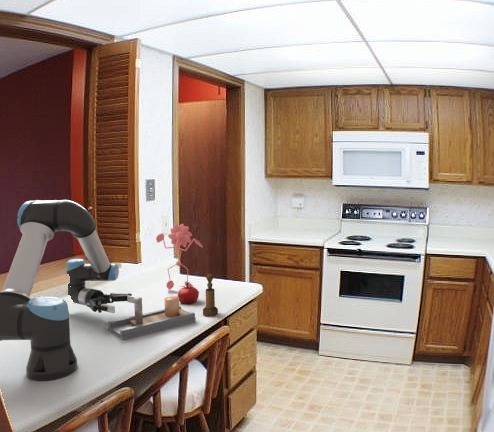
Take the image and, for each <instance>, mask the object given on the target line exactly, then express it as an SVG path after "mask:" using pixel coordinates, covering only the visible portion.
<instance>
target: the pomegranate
mask: <svg viewBox="0 0 494 432" xmlns="http://www.w3.org/2000/svg"><path fill="white" fill-rule="evenodd" d="M186 285H187V287H185V286H186ZM186 285H180V287H182V288H180V289H179V290H178V292H177V297H179V303H181V304H193V303H196V302H197V301H198V300H199V296H200V292H199V290H198V289H197V288H196V287H194V286H195V285H193V284H192V286H193V287H191V286H190V287H188V283H186Z"/></svg>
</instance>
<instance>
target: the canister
mask: <svg viewBox="0 0 494 432" xmlns="http://www.w3.org/2000/svg"><path fill="white" fill-rule="evenodd" d="M179 306H180V301H179V297H178V296H166V297H164V309H165V316H167V317H175V316H179Z"/></svg>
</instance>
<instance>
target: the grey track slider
mask: <svg viewBox="0 0 494 432" xmlns="http://www.w3.org/2000/svg"><path fill="white" fill-rule="evenodd" d="M135 297H136V298H134V303H133V304H134V316H135V320H130V324H132V325H133V326H138V325H142V324H146V323H150V322H155V321H159V320H163V319H167V318H171V317H167V316H165V313H161V314H156V315H152V316H148V317H143V314H144V313H143V298H142V297H141V296H138V297H137V296H135ZM188 313H190V312H189V311H187V310H185V309H183V308H181V309H179V316H180V315H184V314H188Z"/></svg>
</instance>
